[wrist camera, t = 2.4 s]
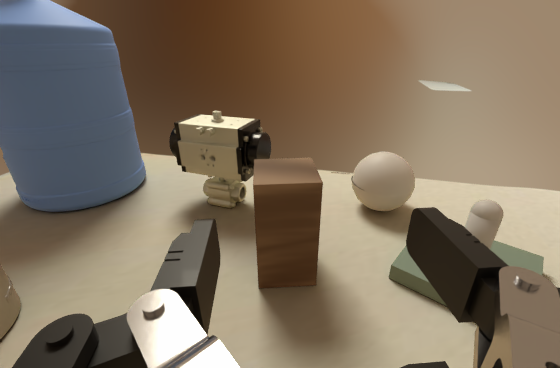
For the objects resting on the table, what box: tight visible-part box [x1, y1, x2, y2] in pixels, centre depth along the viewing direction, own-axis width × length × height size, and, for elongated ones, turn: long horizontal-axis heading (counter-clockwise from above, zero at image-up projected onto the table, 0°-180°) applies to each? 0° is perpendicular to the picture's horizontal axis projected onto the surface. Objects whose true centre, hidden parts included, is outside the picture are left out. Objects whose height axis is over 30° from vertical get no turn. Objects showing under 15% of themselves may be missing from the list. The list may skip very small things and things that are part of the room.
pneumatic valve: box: [170, 111, 271, 208], centre depth 35 cm, size 6×12×12 cm, turn 70°
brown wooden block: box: [253, 158, 323, 288], centre depth 25 cm, size 5×5×10 cm
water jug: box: [0, 0, 146, 212], centre depth 37 cm, size 16×16×28 cm
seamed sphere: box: [331, 152, 415, 211], centre depth 36 cm, size 10×7×7 cm
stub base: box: [389, 200, 544, 306], centre depth 24 cm, size 10×10×8 cm
